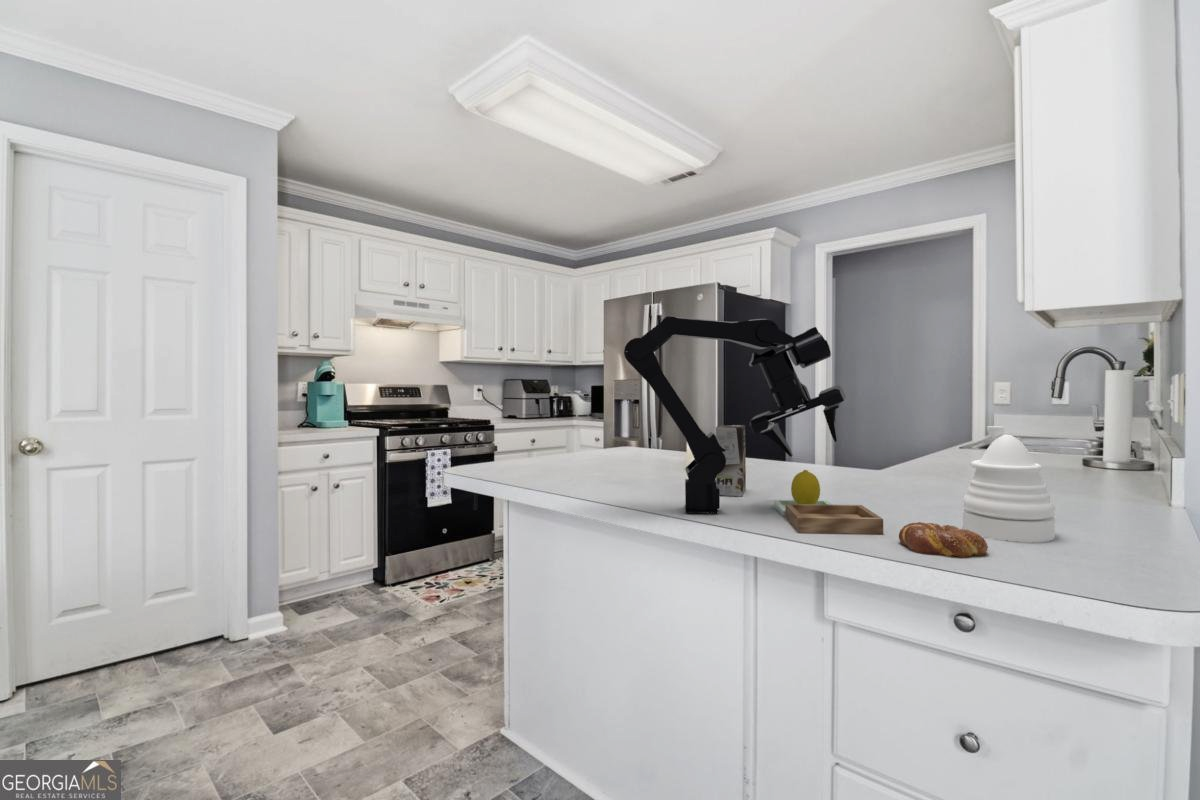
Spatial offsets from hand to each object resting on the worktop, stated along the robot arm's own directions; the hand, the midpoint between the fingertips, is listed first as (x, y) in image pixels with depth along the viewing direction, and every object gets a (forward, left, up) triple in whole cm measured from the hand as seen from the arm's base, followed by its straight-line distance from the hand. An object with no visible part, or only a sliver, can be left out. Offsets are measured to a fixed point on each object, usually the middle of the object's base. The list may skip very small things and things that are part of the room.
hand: (813, 448), depth 118 cm
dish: (-2, 0, -13) cm, 13 cm away
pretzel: (+14, -26, -13) cm, 32 cm away
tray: (0, -12, -13) cm, 17 cm away
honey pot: (+28, -15, -13) cm, 35 cm away
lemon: (-2, 0, -12) cm, 13 cm away
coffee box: (-15, +20, -13) cm, 28 cm away
